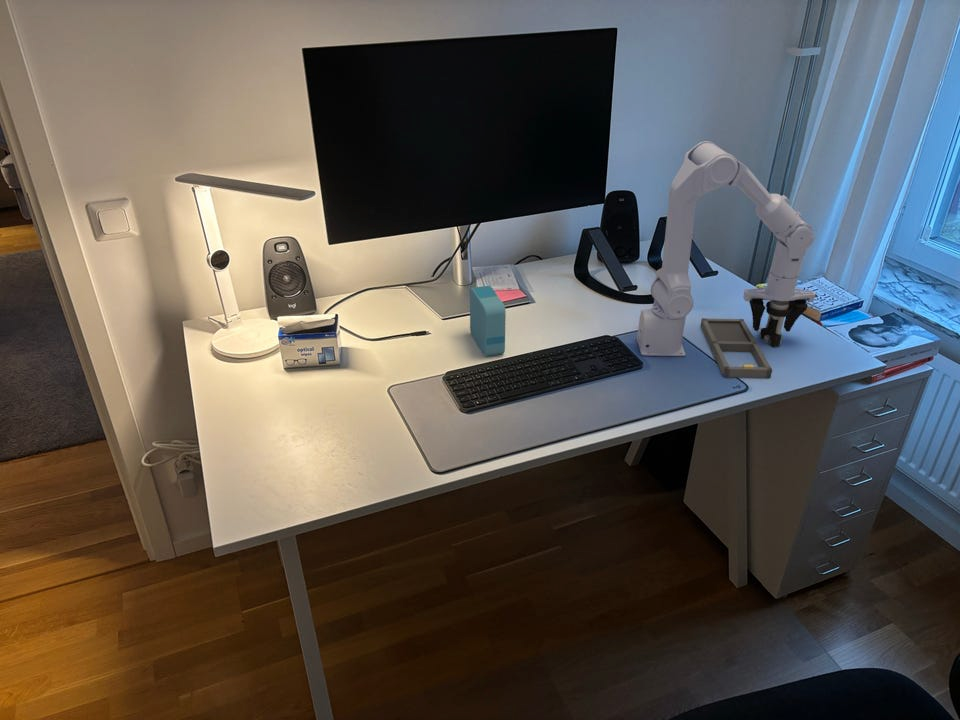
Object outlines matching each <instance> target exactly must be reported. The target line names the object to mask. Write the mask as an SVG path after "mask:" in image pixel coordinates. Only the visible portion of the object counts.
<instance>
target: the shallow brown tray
mask: <svg viewBox="0 0 960 720" xmlns="http://www.w3.org/2000/svg"><path fill="white" fill-rule="evenodd" d="M700 328H701V331H702V333H703V334H704V338H705V339H706V341H707V344H708V346H709V348H710V350H711V352H712V355H713V357H714V359H715V361H716V363H717V365H718V368H719V370H720V372H721V374H722V377H723V378H739V379H740V378H744V379H745V378H747V379H748V378H751V379H771V378H772V373H773V369H772V366H771V365H770V363H769V362H768V360H767V358H766V357H765V355H764V353H763V350H762V349H761V347H760V345H759V344H758V342H757V341H756V339H755V337H754V335H753V334H752V331H751V330H750V328H749V326H748V325H747V323H746V321H745V319H743V318H705V317H704V318H703V317H702V318H701V321H700ZM724 352H729V353H730V352H732V353H733V352H735V353H736V352H738V353H751V354H752V356H753V359H754V360H755V362H756V363H757V365H758V366H754V364H742V366H730V365H729V364H728V361H727V359H726V357H725V354H724Z"/></svg>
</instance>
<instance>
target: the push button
mask: <svg viewBox="0 0 960 720" xmlns="http://www.w3.org/2000/svg"><path fill="white" fill-rule="evenodd" d="M765 310H766V314H768V318H767V322H766V325H765V327H759V330H758V331H756V333H758V334H759V335H760V339H761V340H763V343H764V344H769V345H770V347H771V348H777V347H780V346H782V344H783V343H782V342H783V339H784V335H783V334H782V327H783V326H784V322H785V318H786V317H787V316H788V315H789V313H790V311H791V310H792V306H791V305H790V304H789V302H788V301H776V300H768V301H767V302H766V303H765Z"/></svg>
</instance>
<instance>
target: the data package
mask: <svg viewBox="0 0 960 720" xmlns="http://www.w3.org/2000/svg"><path fill="white" fill-rule="evenodd" d="M506 313H507V312H506V306H505V304H504V302H503V301H502V300H501V298H500V297H499V295H498V294H497V292H496V291H495V290H494V288H493V287H492V286H491V285H484V286H476V287H471V288H470V289H469V329H470V330H469V331H470V334H471V336H472V338H473V340H474V341H475V343H476V346H477V347H478V348H479V351H480V352H481V354H482V356H484V357H488V356H495V355H502V354H504V353H505V352H506V321H507V320H506V315H507V314H506Z"/></svg>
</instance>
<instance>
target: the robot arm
mask: <svg viewBox="0 0 960 720" xmlns="http://www.w3.org/2000/svg"><path fill="white" fill-rule="evenodd" d="M727 185H729V187H737V188H738V189H740V190H741V191H742V192H743V193H744V194H745V196H747V197H748V199H750V200H751V201H752V202H753V203H754V204H755V205H756V206H755V215H756V217H757V218H759V220H760V221H762V223H763V224H764V225H765V226H766V227H767V228H768V229H769V230H770V231H771V232H772V233H773V234H772V235H773V236H774V237H775V238H776V239H777V240H776V244H775V248H774V253H773V257H772V260H771V261H772V262H771V266H770V271H769V274H768V275H769V276H768V279H767V284H766V286H763V287H757V288H750V289H748V288H746V289H744V292H743V300H744V301H745V302H748V303H749V306H750V310H751V315H752V329H753V330H754V331H755V332H759V331H760V330H759V328H761V327H760V326H761V321H762V318H763V315H764V312H765V310H766V305H765V302H764V301H771V300H776V301H788V302H789V304H790V305H791V306H792V310H791V311H790V313H789V315H788V316H787V317H784V321H783V329H784V330H785V331H786V332H789V333H790V331H791V330H792V328H793V326H794V324H795V323H796V321H797V320H798V319H799V318H800V316H801V315H802V314H803V313H805V311H807V309H808V303H814V302H815V296H816V293H815V292H814V291H813V290H811V289H808V290H807V289H799V288H796V287H797V283H798V279H799V275H800V271H801V268H802V263H803V259H804V256H805V255H806V251H807V250H808V248H809V247H811V245H812V244H813V242H814V241H815V239H816V237H815V236H814V232H813V228H812V226H811V225H810V224H808V223H807V222H806V221H804V220H802V219H801V217H802V216H803V215H802V214H801V212H800V211H797V210H796V211H795V209H794V208H792V206H791V205H790V204H789V203H790V199H789V198H788V197H787V196H786V195H784V194H783V195H781V194H779V193H770V192H769V191H768V190H767V189H766V188H765V186H764V185H763V184H762V183H761V182H760V181H759V179H758V178H757V177H756V176H755V174H754V173H753V172H752V171H751V170H750V169H749V168H748V167H747V166H746V165H745V164H744V163H742V162H740V161H739V160H738V159H737V158H736V157H735V156H734V155H733V154H730V153H729V152H727V151H725V150H723V149H722V148H720V147H719V146H718V145H717V144H716V143H714V141H713V142H712V141H710V140H709V141H708V140H707V141H701V142H699V143H697V144H696V145H695V146H693V147H692V148H691V149H690V150H688V151H687V152H686V153H685V155H684V160H683V163H682V165H681V167H680V169H679V170H678V172H677V173H676V175H675V177H674V178H673V180H672V182H671V184H670V186H669V193H668V195H669V196H668V204H667V212H666V213H667V216H666V225H665V236H664V244H663V253H662V254H663V255H662V266H661V268H659V269H658V270H656V272H655V273H656V274H655V277H654V278H655V279H654V280H653V282H652V283H651V285H650V294H651V296H652V298H653V304H652V307H651V308H649V309H644V310H641V311H640V314H639V319H638V320H639V321H638V327H637V328H638V329H637V335H636V342H637V344H638V348H639V351H640V355H641V356H652V357H653V356H654V357H686V352H685V348H684V347H683V344H682V341H683V335H684V330H685V324H686V317H687V316H688V315H689V314H690V312H691V311H692V310H693V307H694V304H695V303H694V299H693V296H692V292H691V290H692V285H691V280H690V277H689V267H690V258H691V250H692V240H693V234H694V226H695V225H694V224H695V217H696V209H697V208H696V207H697V201H698V199H699V198H701V197H702V196H704V195H706V194H708V193H711V192H713V191H715V190H717V189H719V188H722V187H724V186H727ZM807 302H808V303H807Z"/></svg>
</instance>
